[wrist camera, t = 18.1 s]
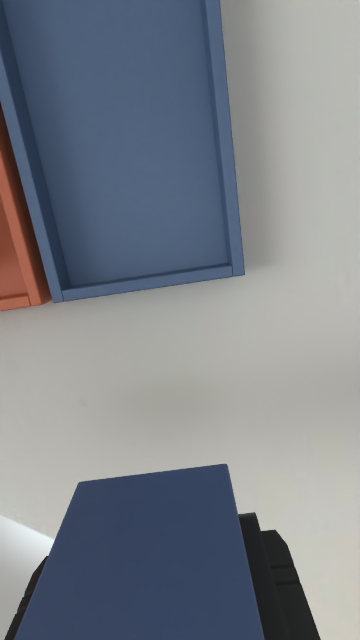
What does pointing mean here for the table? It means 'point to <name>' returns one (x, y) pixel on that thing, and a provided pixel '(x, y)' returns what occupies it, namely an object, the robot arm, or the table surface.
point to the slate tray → (122, 141)
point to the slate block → (147, 563)
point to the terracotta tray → (17, 237)
